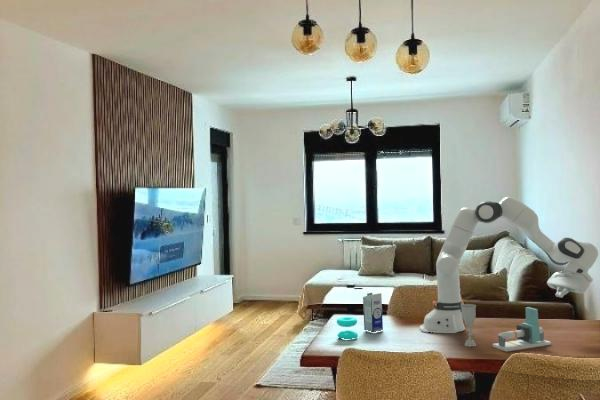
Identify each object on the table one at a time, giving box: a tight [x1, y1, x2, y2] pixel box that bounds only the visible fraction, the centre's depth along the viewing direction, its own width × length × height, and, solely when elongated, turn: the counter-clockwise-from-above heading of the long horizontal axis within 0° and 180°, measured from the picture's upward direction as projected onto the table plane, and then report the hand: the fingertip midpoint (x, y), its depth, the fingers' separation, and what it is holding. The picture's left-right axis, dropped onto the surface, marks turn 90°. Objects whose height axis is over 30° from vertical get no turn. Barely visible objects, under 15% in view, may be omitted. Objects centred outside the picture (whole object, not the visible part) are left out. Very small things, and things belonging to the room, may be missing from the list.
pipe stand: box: [492, 326, 552, 352], centre depth 246 cm, size 24×9×7 cm, turn 108°
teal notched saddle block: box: [520, 306, 540, 342], centre depth 248 cm, size 4×7×14 cm, turn 18°
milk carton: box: [362, 292, 384, 332], centre depth 284 cm, size 7×7×20 cm
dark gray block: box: [516, 324, 530, 342], centre depth 247 cm, size 2×6×6 cm, turn 19°
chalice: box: [461, 303, 477, 348], centre depth 251 cm, size 7×7×18 cm
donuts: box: [336, 316, 359, 339], centre depth 272 cm, size 10×10×10 cm
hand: (558, 296), depth 254 cm, fingers closed
